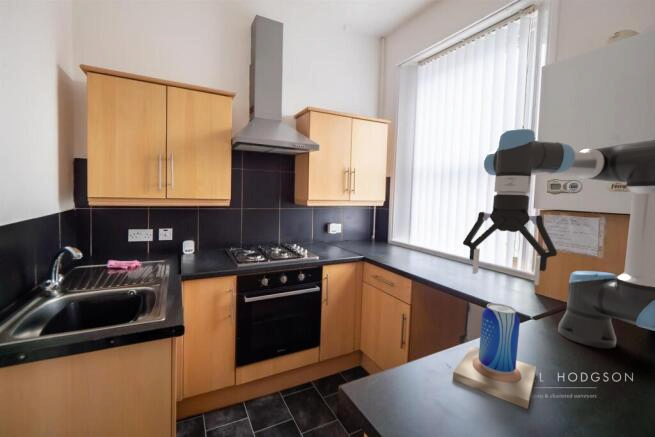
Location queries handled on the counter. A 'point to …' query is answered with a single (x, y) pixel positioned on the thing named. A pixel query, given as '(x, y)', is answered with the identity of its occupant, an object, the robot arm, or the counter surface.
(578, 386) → the counter surface
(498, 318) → the beer can
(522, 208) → the robot arm
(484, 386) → the birch board
